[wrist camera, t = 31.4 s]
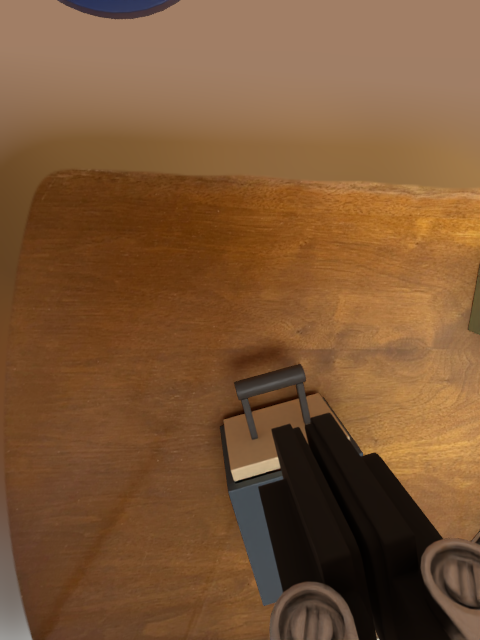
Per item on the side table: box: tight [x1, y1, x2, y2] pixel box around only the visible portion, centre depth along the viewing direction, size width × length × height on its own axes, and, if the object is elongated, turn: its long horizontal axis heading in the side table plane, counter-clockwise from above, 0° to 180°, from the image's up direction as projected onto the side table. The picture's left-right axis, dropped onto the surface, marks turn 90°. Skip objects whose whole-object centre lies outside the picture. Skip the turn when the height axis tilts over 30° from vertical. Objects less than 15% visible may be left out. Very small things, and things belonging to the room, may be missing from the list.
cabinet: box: [220, 397, 363, 606], centre depth 36 cm, size 13×11×9 cm
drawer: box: [223, 364, 350, 481], centre depth 34 cm, size 18×10×8 cm, turn 13°
